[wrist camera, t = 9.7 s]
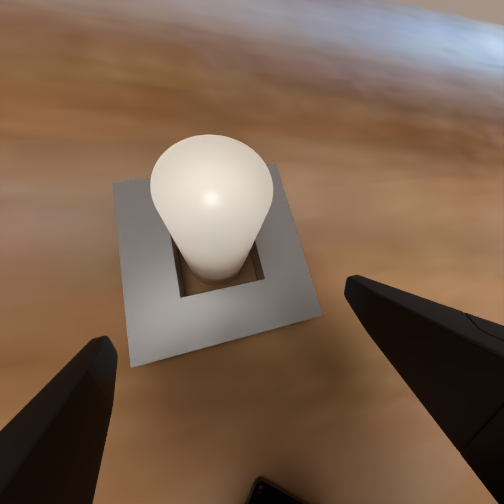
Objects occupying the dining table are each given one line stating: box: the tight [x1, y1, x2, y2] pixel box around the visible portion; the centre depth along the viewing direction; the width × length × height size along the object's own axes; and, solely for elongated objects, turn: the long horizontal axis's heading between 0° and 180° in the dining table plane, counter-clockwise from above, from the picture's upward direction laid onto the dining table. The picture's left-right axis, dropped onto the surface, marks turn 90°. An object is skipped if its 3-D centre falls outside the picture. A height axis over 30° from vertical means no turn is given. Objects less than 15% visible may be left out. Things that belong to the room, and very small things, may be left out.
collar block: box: [113, 163, 323, 368], centre depth 19 cm, size 14×14×3 cm
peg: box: [150, 135, 273, 285], centre depth 15 cm, size 5×5×12 cm
